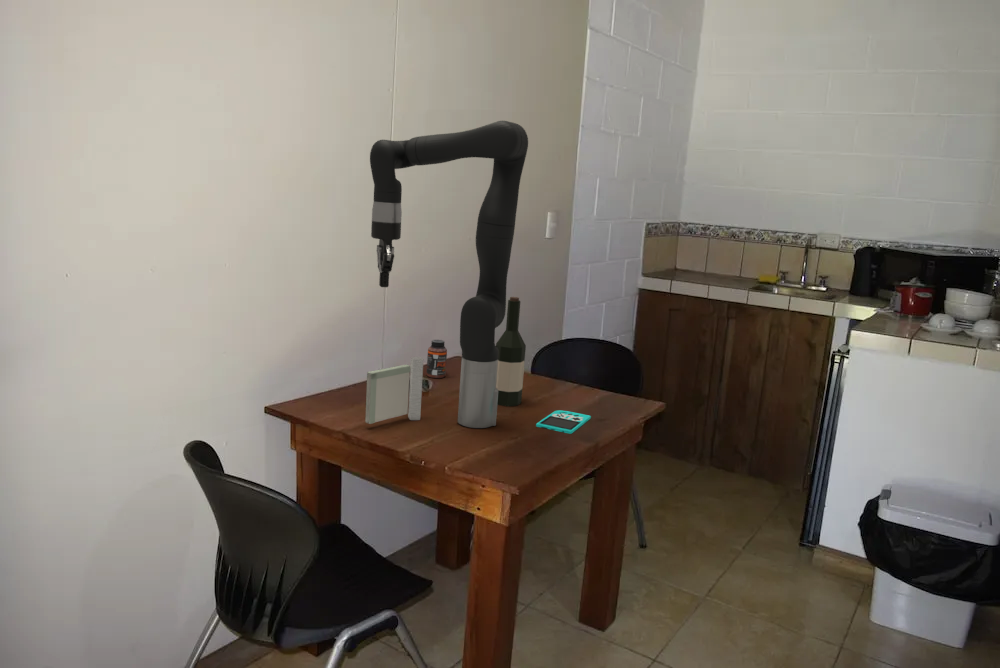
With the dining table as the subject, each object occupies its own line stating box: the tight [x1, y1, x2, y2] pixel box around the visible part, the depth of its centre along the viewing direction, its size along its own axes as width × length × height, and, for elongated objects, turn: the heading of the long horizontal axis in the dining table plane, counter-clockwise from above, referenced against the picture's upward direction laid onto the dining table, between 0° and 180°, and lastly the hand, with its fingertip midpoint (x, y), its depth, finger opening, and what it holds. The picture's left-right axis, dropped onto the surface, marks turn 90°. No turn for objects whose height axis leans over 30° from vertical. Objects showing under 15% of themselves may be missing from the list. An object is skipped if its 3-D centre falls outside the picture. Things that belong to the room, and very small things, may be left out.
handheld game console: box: [535, 409, 592, 435], centre depth 205 cm, size 10×16×1 cm, turn 155°
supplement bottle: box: [426, 339, 448, 379], centre depth 240 cm, size 6×6×11 cm
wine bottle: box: [495, 296, 526, 407], centre depth 217 cm, size 8×8×30 cm
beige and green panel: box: [364, 364, 411, 425], centre depth 192 cm, size 13×2×13 cm, turn 140°
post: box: [407, 356, 424, 421], centre depth 198 cm, size 3×3×16 cm
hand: (383, 286), depth 203 cm, fingers closed
